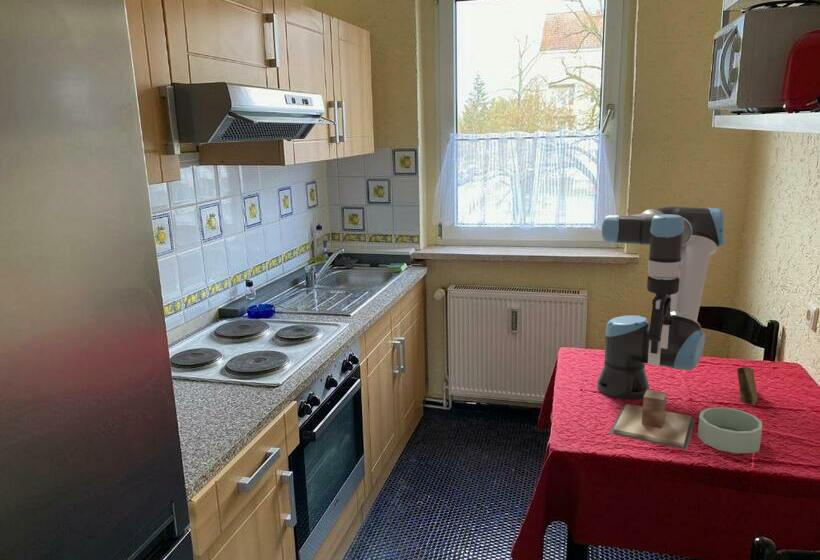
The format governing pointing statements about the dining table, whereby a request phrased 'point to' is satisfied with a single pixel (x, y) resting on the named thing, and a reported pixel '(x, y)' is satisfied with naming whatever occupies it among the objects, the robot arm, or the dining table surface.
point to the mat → (655, 441)
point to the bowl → (730, 430)
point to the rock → (747, 385)
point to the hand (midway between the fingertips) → (657, 355)
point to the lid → (653, 421)
